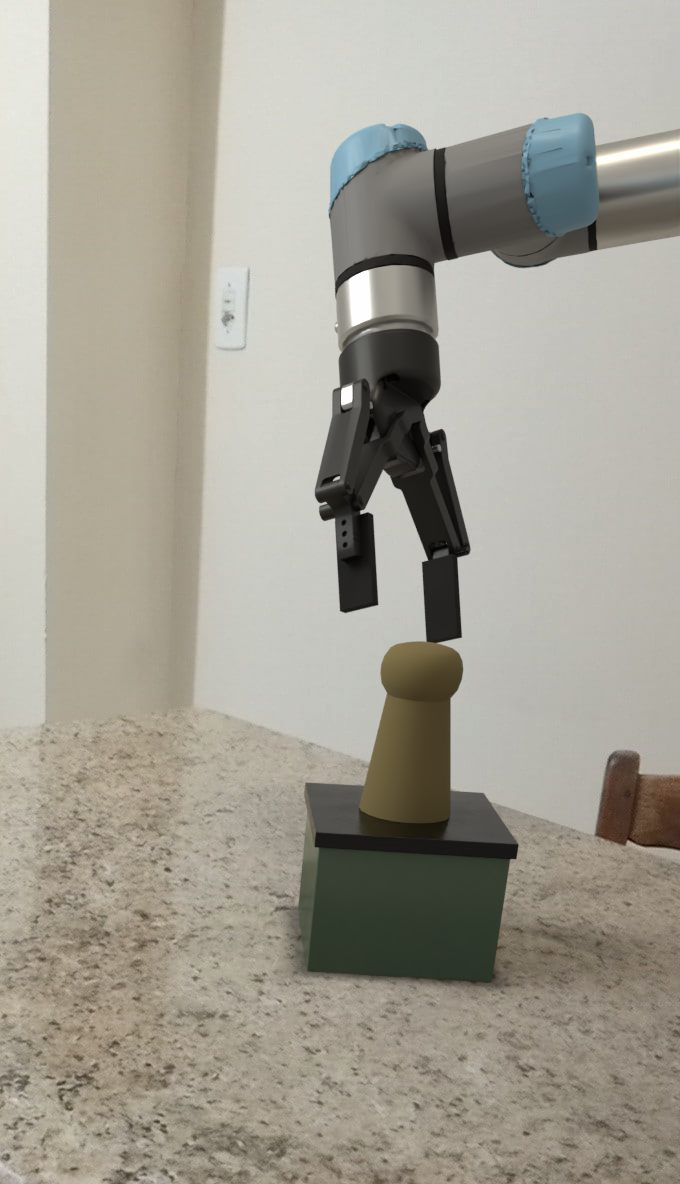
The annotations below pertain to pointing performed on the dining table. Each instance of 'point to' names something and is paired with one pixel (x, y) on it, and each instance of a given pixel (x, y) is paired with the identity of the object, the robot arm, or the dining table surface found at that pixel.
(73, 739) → the dining table surface
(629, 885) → the dining table surface
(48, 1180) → the dining table surface
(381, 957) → the bin
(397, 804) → the cork
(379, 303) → the robot arm
